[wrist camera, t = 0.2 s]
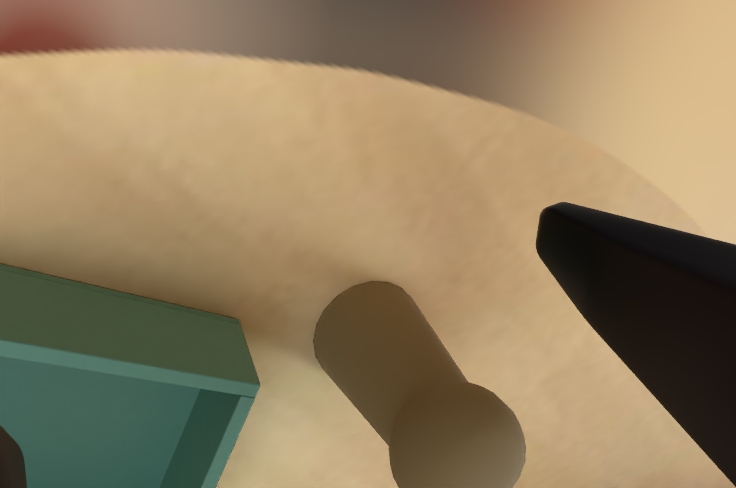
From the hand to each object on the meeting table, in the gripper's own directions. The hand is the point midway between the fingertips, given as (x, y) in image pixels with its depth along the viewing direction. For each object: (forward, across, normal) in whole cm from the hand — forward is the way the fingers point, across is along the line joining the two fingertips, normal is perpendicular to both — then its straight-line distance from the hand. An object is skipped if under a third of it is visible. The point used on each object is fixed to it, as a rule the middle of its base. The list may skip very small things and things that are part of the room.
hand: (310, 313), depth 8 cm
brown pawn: (+12, -5, +15) cm, 20 cm away
